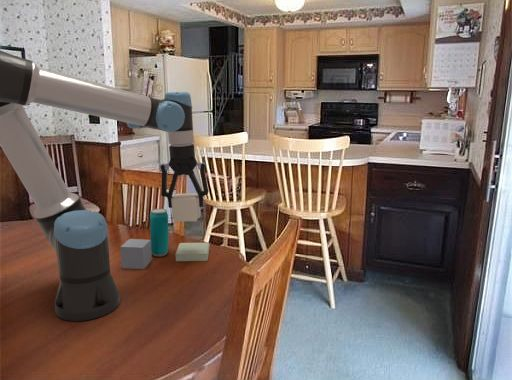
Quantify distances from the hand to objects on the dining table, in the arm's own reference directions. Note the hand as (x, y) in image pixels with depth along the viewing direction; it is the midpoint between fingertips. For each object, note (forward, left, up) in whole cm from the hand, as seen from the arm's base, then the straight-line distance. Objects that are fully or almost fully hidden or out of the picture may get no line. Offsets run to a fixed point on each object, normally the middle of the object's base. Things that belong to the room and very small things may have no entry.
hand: (186, 216), depth 132 cm
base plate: (+4, -1, -14) cm, 15 cm away
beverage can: (+5, +10, -14) cm, 18 cm away
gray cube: (-3, +16, -14) cm, 22 cm away
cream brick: (0, 0, 0) cm, 0 cm away
